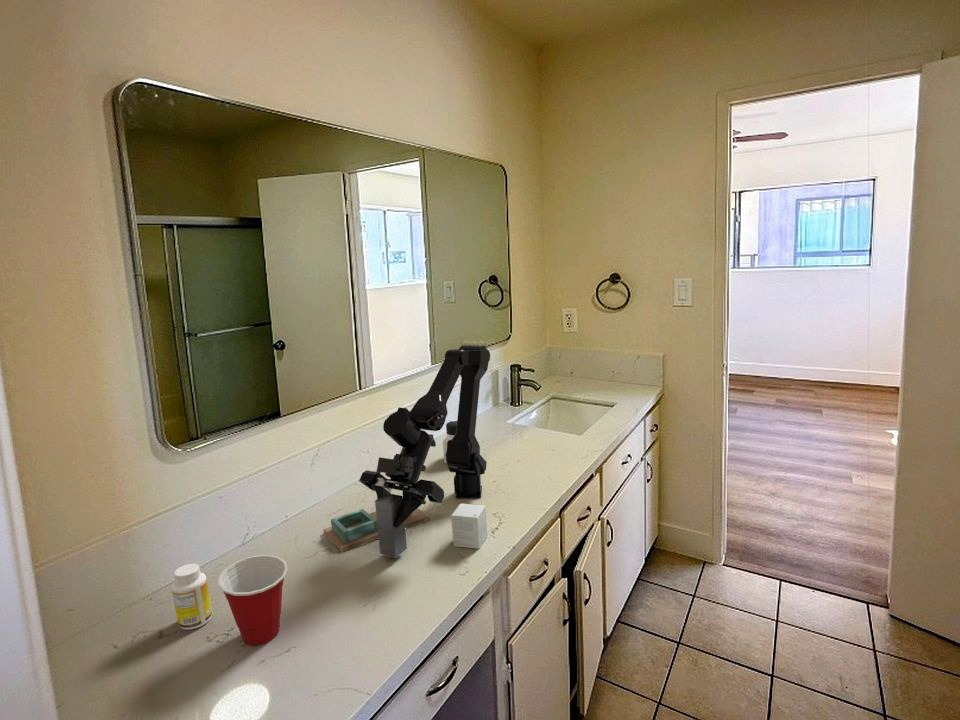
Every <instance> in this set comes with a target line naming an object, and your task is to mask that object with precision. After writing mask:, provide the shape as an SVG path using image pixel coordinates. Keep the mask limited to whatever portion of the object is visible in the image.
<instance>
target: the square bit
mask: <svg viewBox="0 0 960 720" xmlns="http://www.w3.org/2000/svg"><path fill="white" fill-rule="evenodd" d="M402 500H403V495H399V494H394V493H391V494H390V493H386V494H384V495H383V496H381V497H380V498H378V499H377V498H376V499H375V500H374V505H375V512H376V517H377V527H378V537H379V539H378V545H379V553H380V555H383V556H387V557H390V558H394V559H396V558H398V557H399V556H400V555H401V554H402V553H403V552H405V551H406V550H407V549H408V546H407V545H408V544H407V535H406V534H407V533H406V529H405V521H404V522H403V523H402V524H401V525H400V526H399V527H398V528H395V527H394V523H395V519H396V516H397V514H398V511H399V508H400V506H401V503H402Z"/></svg>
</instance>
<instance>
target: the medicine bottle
mask: <svg viewBox="0 0 960 720" xmlns="http://www.w3.org/2000/svg"><path fill="white" fill-rule="evenodd" d="M456 428H457V420H456V419H455V420H451V421H450V420H449V421H448V422H447V423H446V424H445V429H446V432H445V433H446V436H445V438H444V439H443V441H442V447H443V448H442V449H443V461H444V463H445V464H447V462H446V452H447V442H448V440H452V438H453V437H454V436H455V434H456Z"/></svg>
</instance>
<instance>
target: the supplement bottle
mask: <svg viewBox="0 0 960 720" xmlns="http://www.w3.org/2000/svg"><path fill="white" fill-rule="evenodd" d="M209 590H210V589H209V585H208V579H207V576H206V574H205V573H203V572H201V569H200V565H199V564H198V563H188V564H185V565H182V566H180V567H178V568H177V569H176V570H175V571H174V581H173V583H172V584H171V594H172V598H173V603H174V609H175V615H176V619H177V625H178V627H179V628H181V630H186V631H190V630H195V629H198V628H200V627H203V626H205V625H206V624H207V623H209V621H211V618H212V617H213V608H212V602H211V596H210V591H209Z"/></svg>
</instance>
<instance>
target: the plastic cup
mask: <svg viewBox="0 0 960 720" xmlns="http://www.w3.org/2000/svg"><path fill="white" fill-rule="evenodd" d="M287 573H288V564H287V562H286V561H285V560H284V559H283V558H282V557H279V556H275V555H272V554H271V555H270V554H263V555H261V554H259V555H258V554H257V555H254V556H248V557H244V558H242V559H240V560H237V561H235V562H233V563H231V564H230V565H228V566H227V567H225V568H224V569H223V570H222V572H221V573H220V574H219V575H218V577H217V582H218V583H217V586H218V587H219V588H220V590H222V592H223V594H224V595H225V598H226V600H227V602H228V605H229V607H230V610H231V613H232V616H233V619H234V621H235V624H236V626H237V628H238V631H239V633H240V637H241V639H242V640H243V642H244V643H245V644H246V645H248V646H253V647H254V646H261V645H263V644H266V643H268V642H270V641H273V640H274V639H275V638H276V637H277V635H278V634H279V631H280V628H281V626H280V625H281V624H280V623H281V613H282V599H283V597H282V596H283V586H284V580H285V576H286V575H287Z"/></svg>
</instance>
